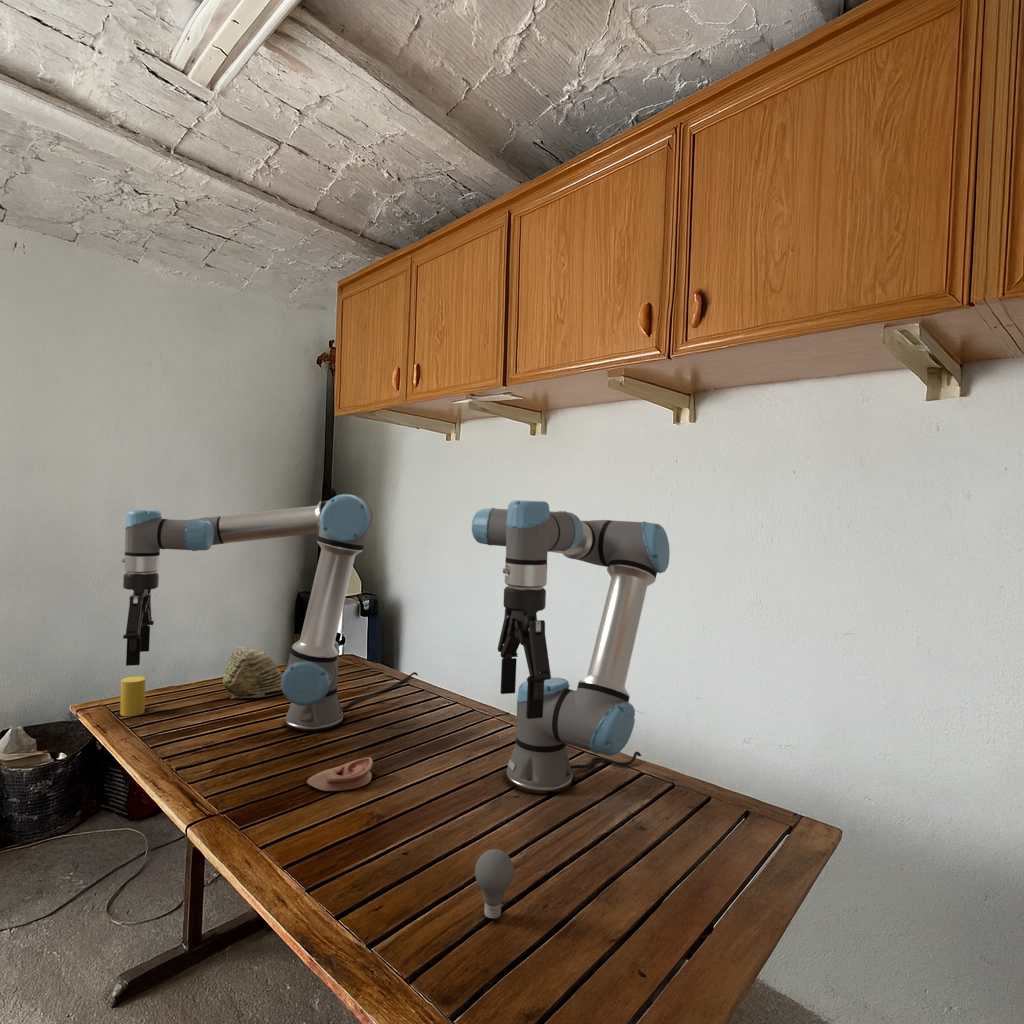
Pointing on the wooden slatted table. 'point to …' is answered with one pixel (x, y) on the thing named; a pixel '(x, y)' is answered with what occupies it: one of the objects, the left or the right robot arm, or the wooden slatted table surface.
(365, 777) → the anatomical model
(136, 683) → the cylinder
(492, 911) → the light bulb
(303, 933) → the wooden slatted table surface
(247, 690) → the fossil
